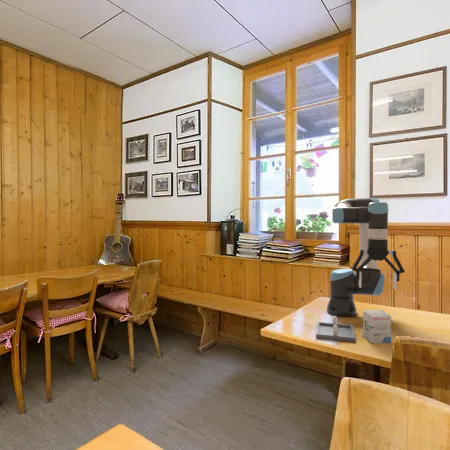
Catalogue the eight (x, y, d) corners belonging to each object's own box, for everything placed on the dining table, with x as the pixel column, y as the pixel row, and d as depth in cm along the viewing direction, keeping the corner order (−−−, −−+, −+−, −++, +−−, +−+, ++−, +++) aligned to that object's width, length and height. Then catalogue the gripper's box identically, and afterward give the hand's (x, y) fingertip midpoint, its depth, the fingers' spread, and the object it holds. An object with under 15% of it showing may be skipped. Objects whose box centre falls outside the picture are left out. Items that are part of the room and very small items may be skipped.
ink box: (381, 335, 144) (381, 309, 143) (391, 342, 135) (392, 315, 135) (362, 335, 143) (362, 309, 143) (371, 343, 135) (371, 316, 134)
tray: (317, 325, 156) (317, 313, 156) (352, 328, 152) (352, 316, 151) (316, 338, 141) (316, 325, 141) (355, 342, 136) (355, 329, 136)
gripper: (347, 239, 137) (346, 288, 138) (413, 239, 129) (412, 291, 131) (346, 237, 144) (345, 284, 145) (408, 238, 137) (407, 287, 138)
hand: (377, 287), depth 138 cm, fingers open, 13 cm apart
